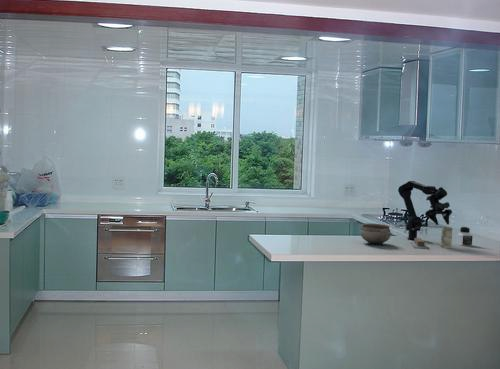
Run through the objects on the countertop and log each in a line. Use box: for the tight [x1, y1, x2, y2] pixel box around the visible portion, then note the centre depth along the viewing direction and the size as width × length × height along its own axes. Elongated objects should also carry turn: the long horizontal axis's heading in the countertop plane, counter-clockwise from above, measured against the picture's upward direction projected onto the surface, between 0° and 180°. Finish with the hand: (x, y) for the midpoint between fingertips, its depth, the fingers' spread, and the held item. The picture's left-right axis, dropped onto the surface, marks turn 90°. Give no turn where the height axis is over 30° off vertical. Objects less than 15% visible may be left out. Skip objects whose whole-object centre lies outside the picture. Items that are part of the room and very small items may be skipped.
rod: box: [440, 226, 453, 249], centre depth 384 cm, size 4×4×13 cm
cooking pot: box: [359, 222, 393, 246], centre depth 386 cm, size 25×19×12 cm
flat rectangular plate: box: [409, 237, 430, 250], centre depth 385 cm, size 20×9×4 cm, turn 173°
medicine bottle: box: [456, 226, 474, 247], centre depth 399 cm, size 7×7×12 cm
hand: (443, 224), depth 390 cm, fingers open, 9 cm apart
